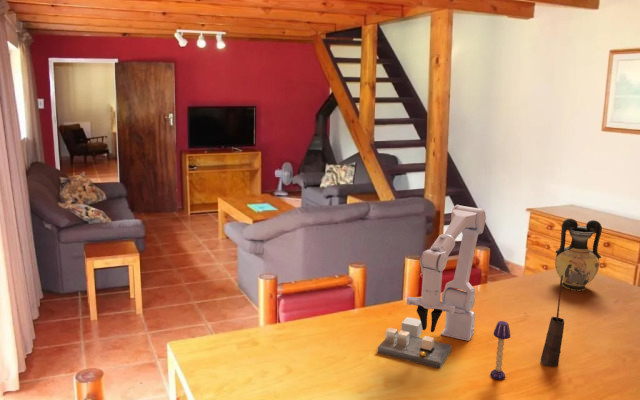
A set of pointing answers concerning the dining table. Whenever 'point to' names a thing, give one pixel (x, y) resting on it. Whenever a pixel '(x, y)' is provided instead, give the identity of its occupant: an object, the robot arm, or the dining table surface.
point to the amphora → (578, 254)
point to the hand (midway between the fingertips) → (428, 330)
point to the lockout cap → (412, 326)
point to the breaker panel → (413, 349)
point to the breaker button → (427, 343)
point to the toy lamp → (500, 348)
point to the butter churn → (553, 338)
